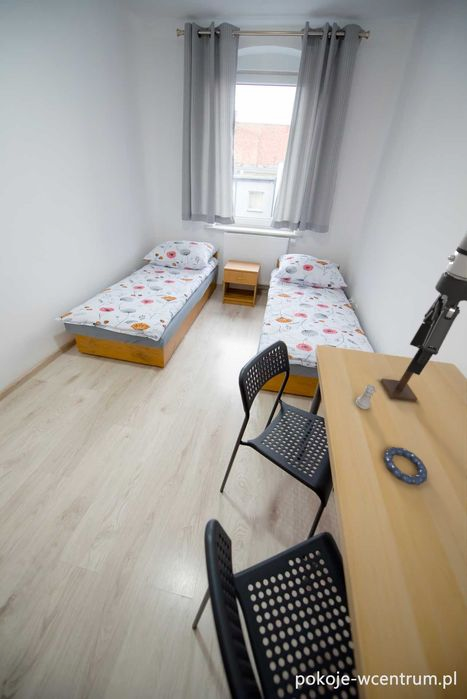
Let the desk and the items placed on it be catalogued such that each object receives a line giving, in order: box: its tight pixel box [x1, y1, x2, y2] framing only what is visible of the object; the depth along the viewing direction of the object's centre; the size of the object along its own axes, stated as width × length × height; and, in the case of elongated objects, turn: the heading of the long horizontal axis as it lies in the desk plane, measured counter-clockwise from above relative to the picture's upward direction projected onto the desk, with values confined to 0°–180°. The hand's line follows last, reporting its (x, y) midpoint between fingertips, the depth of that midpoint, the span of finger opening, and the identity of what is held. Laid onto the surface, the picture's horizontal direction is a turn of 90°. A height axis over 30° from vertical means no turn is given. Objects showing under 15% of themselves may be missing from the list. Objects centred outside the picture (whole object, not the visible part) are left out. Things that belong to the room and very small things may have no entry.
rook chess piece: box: [355, 384, 377, 410], centre depth 90 cm, size 4×4×8 cm
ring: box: [383, 446, 428, 486], centre depth 74 cm, size 10×10×2 cm
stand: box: [380, 368, 418, 403], centre depth 96 cm, size 9×9×14 cm
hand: (414, 358), depth 69 cm, fingers open, 13 cm apart
